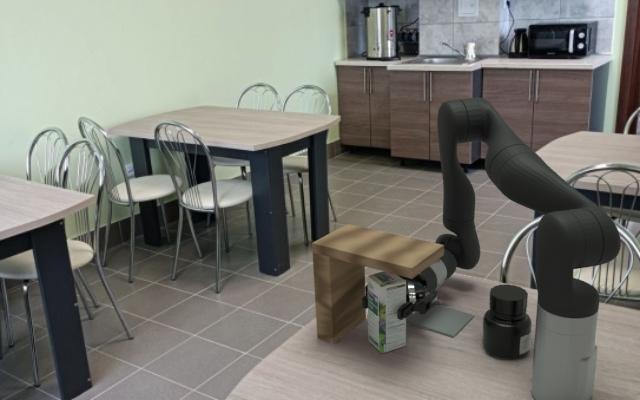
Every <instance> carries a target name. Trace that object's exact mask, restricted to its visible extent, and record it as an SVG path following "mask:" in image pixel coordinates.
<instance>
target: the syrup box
mask: <svg viewBox="0 0 640 400" xmlns="http://www.w3.org/2000/svg"><path fill="white" fill-rule="evenodd" d="M367 284H368V308H367V325H368V326H367V327H368V329H367V330H368V333H367V334H368V342H370V343H371V344H372V345H373V346H374V347H375V348H376V349H377V350H378V351H379V352H380V353H381V354H385V353H388V352H392V351H395V350H397V349H401V348H403V347H406V346H407V323H406V318H403V319H402V320H400V319H398V318H397V311H398V309H399V308H400V307H401V306H402V305H404V304H405V303H406V280H403V279H402V278H401V277H400V276H398V275H396V274H392V273H388V272H384V271H380V272H376V273H372V274H369V275H367Z"/></svg>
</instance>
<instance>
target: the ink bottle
mask: <svg viewBox="0 0 640 400" xmlns="http://www.w3.org/2000/svg"><path fill="white" fill-rule="evenodd" d="M528 295H529V293H528V292H527V290H526V289H524V288H522V287H520V286H518V285H515V284H514V285H513V284H497V285H494V286H493V287H492V288H490V292H489V305H488V306H489V309H488V310H486V311H485V312H484V314H483V319H482V341H481V342H482V347H483V349H484V351H485V352H486V353H487V354H489V355H491V356H492V357H495V358H497V359H503V360H519V359H522V358H524V357H527V356H528V354H529V353H530V350H531V341H532V322H533V321H532V319H531V317H530V315H529V314H528V313H527V308H528V297H529V296H528Z"/></svg>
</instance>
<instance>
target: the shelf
mask: <svg viewBox="0 0 640 400" xmlns="http://www.w3.org/2000/svg"><path fill="white" fill-rule="evenodd" d="M311 247H312V248H311V250H312V265H313V266H312V267H313V281H314V284H313V285H314V299H315V300H314V301H315V319H316V320H315V322H316V337H317V339H319V340H322V341H325V342H327V343H330V344H335V343H336V342H337V341H339V340H340V339H341V338H342V337H344V336H345V335H347V334H348V333H349V332H350V331H352V330H353V329H355V328H356V327H357V326H359V325H360V324H361V323H362V322H363V321H365V320H366V319H367V309H365V308H363V306H362V298H363V297H364V296H365V295H366V291H365V286H366V268H368V269H369V268H370V269H374V270H376V271H380V272H388V273H392V274H396V275H399V276H403V277H407V278H411V279H413V278H414V277H415V276H417V275H418V274H419V273H421V272H422V271H423V270H425V269H426V268H427V267H428V266H430V265H431V264H432V263H434V262H435V261H436V260H438V259H439V258H440V257H442V256H443V255H444V245H441V244H437V243H435V242H431V241H427V240H422V239H417V238H414V237H409V236H404V235H401V234H400V235H399V234H395V233H390V232H385V231H382V230H381V231H380V230H378V229H372V228H367V227H363V226H359V225H354V224H351V223H350V224H349V223H346V224H345V225H342V226H341V227H339V228H337V229H335V230H334V231H332V232H330V233H328V234H326V235H324V236H323V237H321V238H319V239H317V240H315V241H312V243H311Z"/></svg>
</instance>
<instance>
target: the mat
mask: <svg viewBox="0 0 640 400" xmlns="http://www.w3.org/2000/svg"><path fill="white" fill-rule="evenodd" d="M475 316H476V315H475V314H472V313H469V312H466V311H463V310H457V309H454V308H451V307H447V306H445V305H441V304H438V303H437V304H436V305H435V306H434V307H433V308H431V309H430V310H429V311H428V312H427V313H426V314H420V313H419V312H417V311H416V313H412V314H410V315H409V316H408V317H407V318H406V324H409V325H411V326H414V327H417V328H418V327H419V328H422V329H425V330H427V331H431V332H434V333H438V334H440V335H442V336H443V335H444V336H447V337H450V338H455V337H456V336H458V334H459V333H460V332H462V330H463V329H464V328H465V327H466V326H467V325H468V324H469V323H470V322H471V321H472V320H473V319H474V318H475Z"/></svg>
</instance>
